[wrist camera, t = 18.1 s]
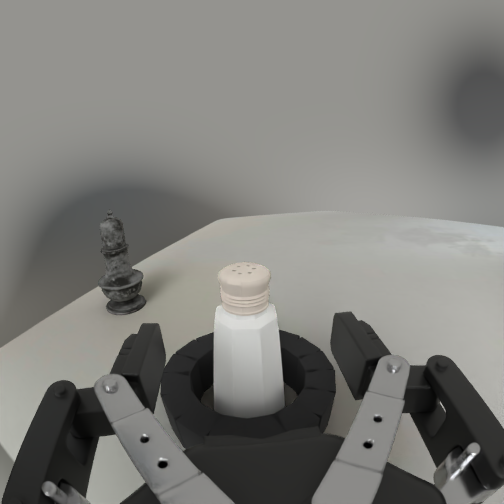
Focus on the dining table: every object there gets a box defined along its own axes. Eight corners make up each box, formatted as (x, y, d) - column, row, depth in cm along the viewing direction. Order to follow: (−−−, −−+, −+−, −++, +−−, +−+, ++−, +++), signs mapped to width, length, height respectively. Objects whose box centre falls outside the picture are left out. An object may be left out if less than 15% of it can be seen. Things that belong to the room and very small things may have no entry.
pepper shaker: (230, 377, 22) (221, 249, 19) (295, 391, 20) (305, 257, 17) (199, 422, 18) (172, 282, 14) (273, 445, 16) (279, 300, 12)
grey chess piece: (127, 290, 38) (114, 204, 34) (157, 300, 35) (144, 204, 31) (95, 307, 33) (76, 214, 29) (123, 321, 30) (103, 216, 26)
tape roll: (221, 501, 12) (213, 478, 10) (150, 388, 21) (139, 356, 20) (359, 412, 18) (370, 379, 17) (265, 343, 27) (265, 312, 26)
